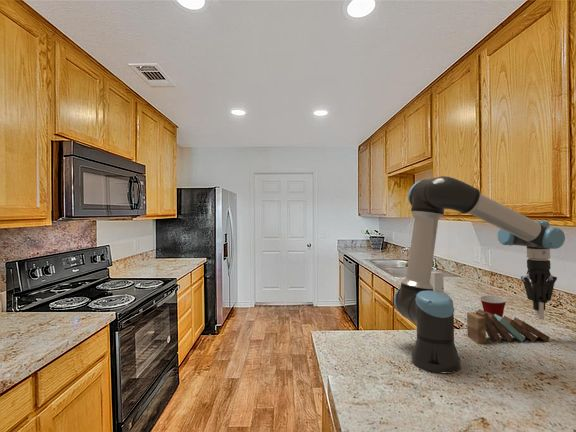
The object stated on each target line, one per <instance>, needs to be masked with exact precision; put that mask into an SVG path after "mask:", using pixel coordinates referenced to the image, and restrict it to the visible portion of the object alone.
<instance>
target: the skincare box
mask: <svg viewBox="0 0 576 432" xmlns="http://www.w3.org/2000/svg"><path fill="white" fill-rule="evenodd" d="M430 284H431V285H432V286H433V291H436V292H441V293H444V292H445V288H444V287H445V284H444V272H443V271H437V270H436V271H431V278H430ZM444 294H445V293H444Z"/></svg>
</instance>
